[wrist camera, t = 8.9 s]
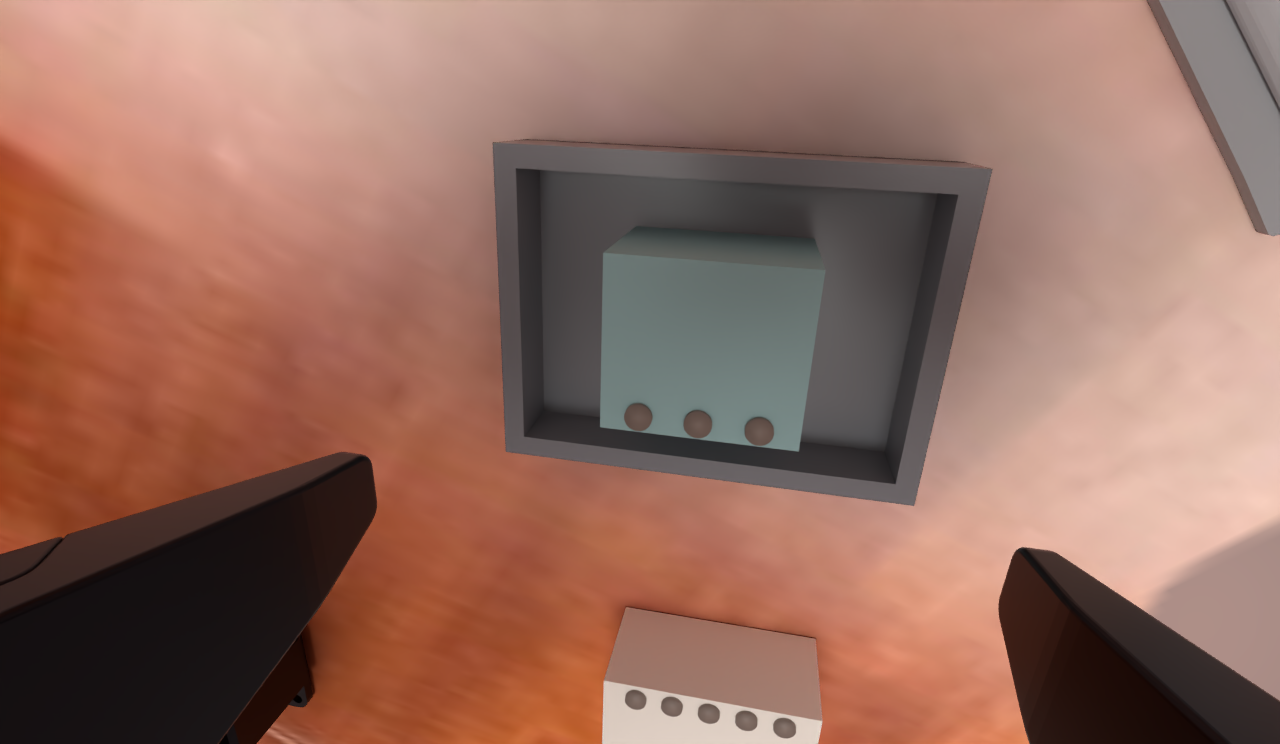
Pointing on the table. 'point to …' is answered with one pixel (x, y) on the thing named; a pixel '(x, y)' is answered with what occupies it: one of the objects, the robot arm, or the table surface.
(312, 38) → the table surface
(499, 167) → the tray
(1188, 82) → the office telephone
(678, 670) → the pad
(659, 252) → the stub
